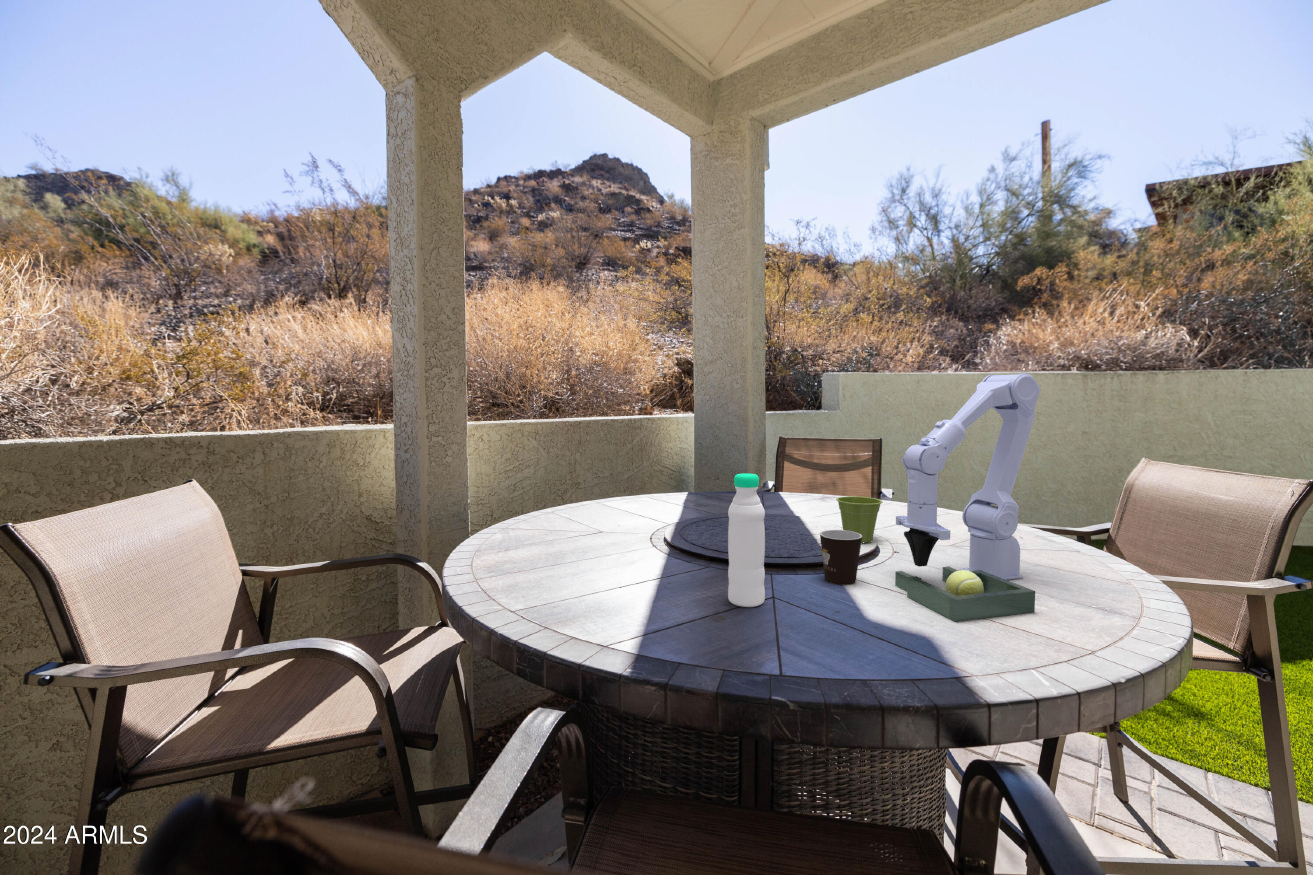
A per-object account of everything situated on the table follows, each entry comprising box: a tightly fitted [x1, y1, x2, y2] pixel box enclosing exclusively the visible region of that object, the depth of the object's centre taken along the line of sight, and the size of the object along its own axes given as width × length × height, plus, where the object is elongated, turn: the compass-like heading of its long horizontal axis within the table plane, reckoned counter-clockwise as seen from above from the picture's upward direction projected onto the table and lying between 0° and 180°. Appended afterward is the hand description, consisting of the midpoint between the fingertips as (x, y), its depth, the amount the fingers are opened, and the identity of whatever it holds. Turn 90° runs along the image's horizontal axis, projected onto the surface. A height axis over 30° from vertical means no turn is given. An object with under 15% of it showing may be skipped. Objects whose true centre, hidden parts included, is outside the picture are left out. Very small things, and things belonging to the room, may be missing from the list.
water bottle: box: [727, 472, 766, 608], centre depth 113 cm, size 7×7×25 cm
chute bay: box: [894, 566, 1036, 623], centre depth 114 cm, size 17×20×4 cm
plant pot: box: [836, 495, 883, 544], centre depth 158 cm, size 12×12×11 cm
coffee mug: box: [819, 529, 862, 586], centre depth 127 cm, size 12×9×10 cm
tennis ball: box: [944, 569, 984, 596], centre depth 112 cm, size 6×7×7 cm
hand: (920, 565), depth 124 cm, fingers closed
